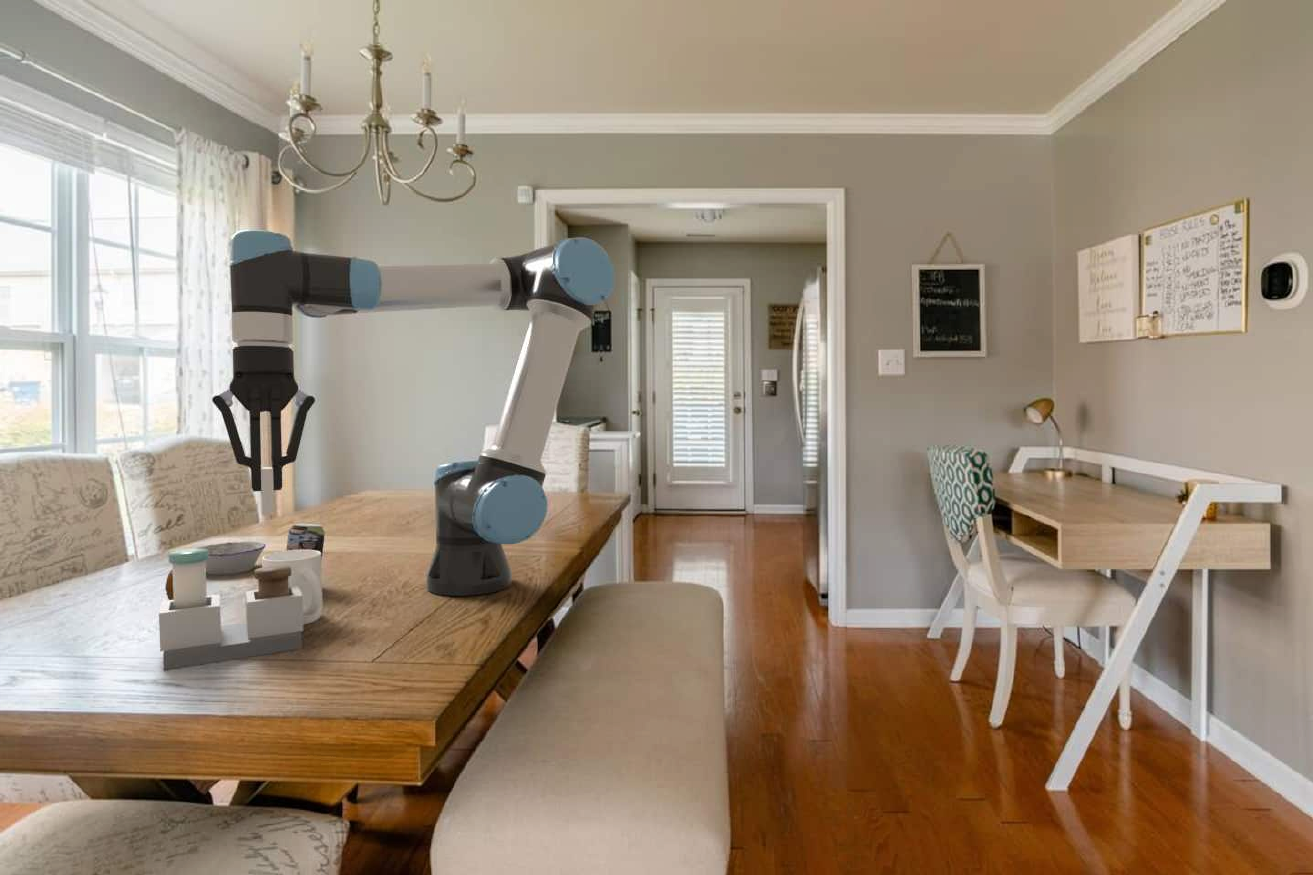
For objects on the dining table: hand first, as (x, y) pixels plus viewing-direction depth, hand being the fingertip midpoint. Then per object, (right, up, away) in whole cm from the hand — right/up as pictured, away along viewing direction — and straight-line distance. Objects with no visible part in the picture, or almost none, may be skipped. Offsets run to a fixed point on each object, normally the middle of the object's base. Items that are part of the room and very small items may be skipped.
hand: (267, 513), depth 105 cm
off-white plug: (-8, -13, -4) cm, 16 cm away
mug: (-1, -18, +11) cm, 21 cm away
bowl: (-31, -16, +45) cm, 57 cm away
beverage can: (-9, -17, +31) cm, 36 cm away
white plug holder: (-4, -19, -1) cm, 19 cm away
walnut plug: (0, -16, +1) cm, 16 cm away
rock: (-23, -18, +19) cm, 34 cm away
